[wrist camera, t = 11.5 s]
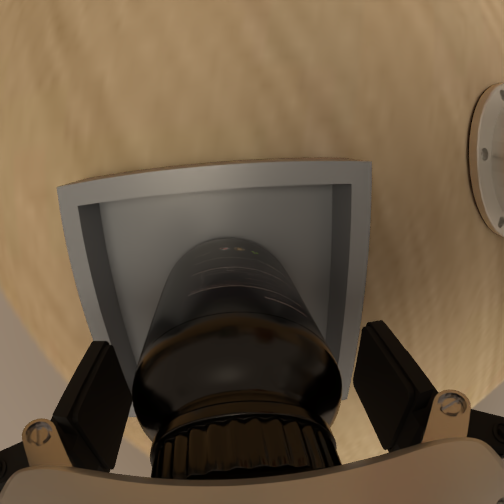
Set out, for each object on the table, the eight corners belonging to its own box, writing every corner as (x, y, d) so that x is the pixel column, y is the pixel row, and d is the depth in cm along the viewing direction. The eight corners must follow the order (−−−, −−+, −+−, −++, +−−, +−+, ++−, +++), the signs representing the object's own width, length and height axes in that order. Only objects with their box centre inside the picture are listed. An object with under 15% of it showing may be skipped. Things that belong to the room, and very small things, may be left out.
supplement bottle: (278, 348, 18) (331, 533, 7) (165, 339, 17) (129, 533, 6) (302, 241, 16) (438, 417, 5) (169, 226, 15) (66, 415, 4)
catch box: (342, 158, 16) (371, 161, 12) (331, 365, 20) (346, 399, 17) (87, 178, 15) (56, 187, 11) (135, 381, 19) (125, 416, 16)
